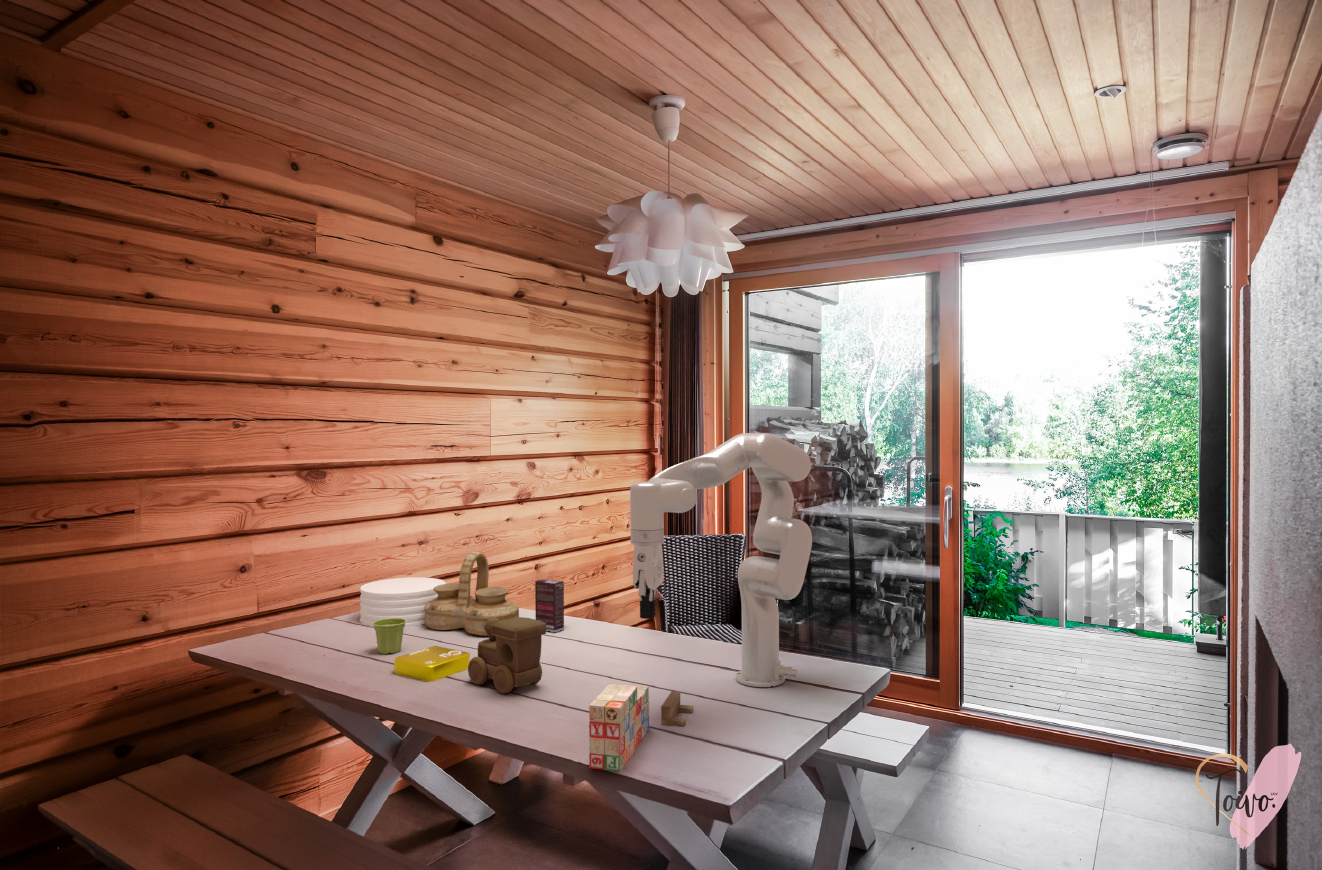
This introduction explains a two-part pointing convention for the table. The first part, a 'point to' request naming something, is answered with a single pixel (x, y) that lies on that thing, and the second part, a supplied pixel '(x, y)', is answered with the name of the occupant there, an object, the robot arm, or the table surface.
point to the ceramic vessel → (469, 601)
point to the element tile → (431, 663)
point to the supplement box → (550, 603)
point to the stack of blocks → (617, 725)
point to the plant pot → (389, 634)
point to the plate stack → (397, 599)
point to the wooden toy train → (509, 653)
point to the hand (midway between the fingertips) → (647, 617)
